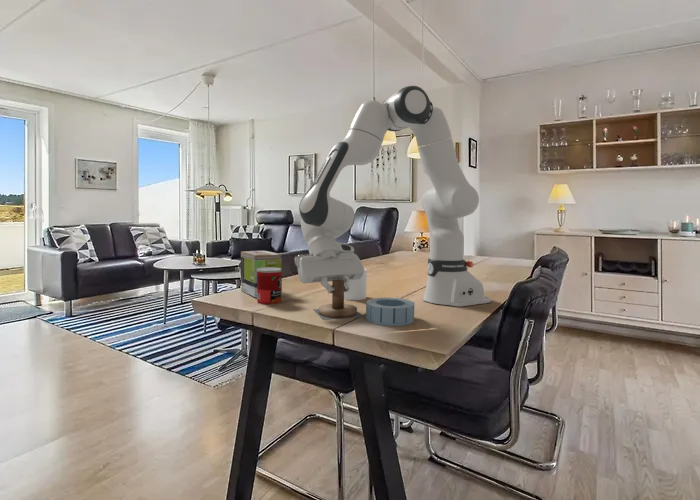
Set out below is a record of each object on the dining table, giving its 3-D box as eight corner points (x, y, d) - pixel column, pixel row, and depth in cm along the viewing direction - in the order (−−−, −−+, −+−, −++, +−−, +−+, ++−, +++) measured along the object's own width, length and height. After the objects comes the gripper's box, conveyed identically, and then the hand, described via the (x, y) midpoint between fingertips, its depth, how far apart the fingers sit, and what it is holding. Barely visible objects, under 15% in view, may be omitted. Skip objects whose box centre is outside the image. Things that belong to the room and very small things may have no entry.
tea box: (282, 295, 146) (282, 253, 144) (254, 298, 140) (254, 254, 139) (266, 288, 158) (265, 249, 157) (240, 290, 153) (239, 250, 151)
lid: (350, 307, 128) (350, 276, 127) (362, 316, 118) (362, 283, 117) (314, 309, 125) (315, 278, 124) (324, 319, 114) (324, 284, 113)
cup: (359, 302, 137) (360, 271, 136) (327, 298, 142) (328, 268, 141) (370, 297, 144) (370, 268, 143) (339, 294, 149) (339, 266, 148)
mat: (351, 308, 129) (351, 307, 129) (364, 318, 117) (364, 316, 117) (312, 310, 125) (312, 309, 125) (323, 321, 114) (323, 319, 113)
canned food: (274, 306, 130) (274, 271, 129) (252, 304, 132) (251, 269, 131) (286, 301, 137) (286, 268, 136) (264, 299, 139) (264, 266, 138)
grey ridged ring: (401, 313, 124) (401, 296, 123) (422, 325, 111) (422, 306, 111) (359, 316, 120) (360, 298, 119) (377, 328, 107) (377, 309, 107)
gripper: (295, 248, 120) (308, 287, 113) (357, 246, 130) (373, 282, 122) (290, 262, 125) (302, 300, 117) (350, 258, 134) (365, 294, 127)
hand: (339, 291), depth 120 cm, fingers closed on lid, 3 cm apart
